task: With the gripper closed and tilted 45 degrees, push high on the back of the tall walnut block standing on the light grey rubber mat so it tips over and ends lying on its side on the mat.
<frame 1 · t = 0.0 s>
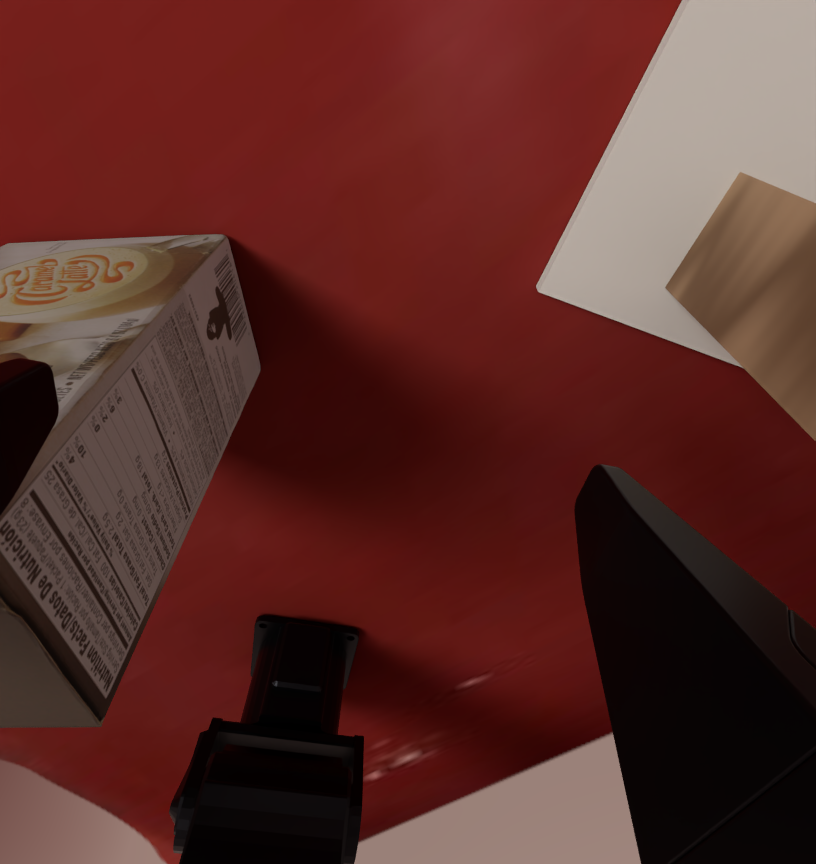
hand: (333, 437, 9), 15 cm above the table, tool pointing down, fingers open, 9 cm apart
walnut block: (750, 253, 21), point 1 cm above the table, touching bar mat
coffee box: (146, 308, 24), on the table
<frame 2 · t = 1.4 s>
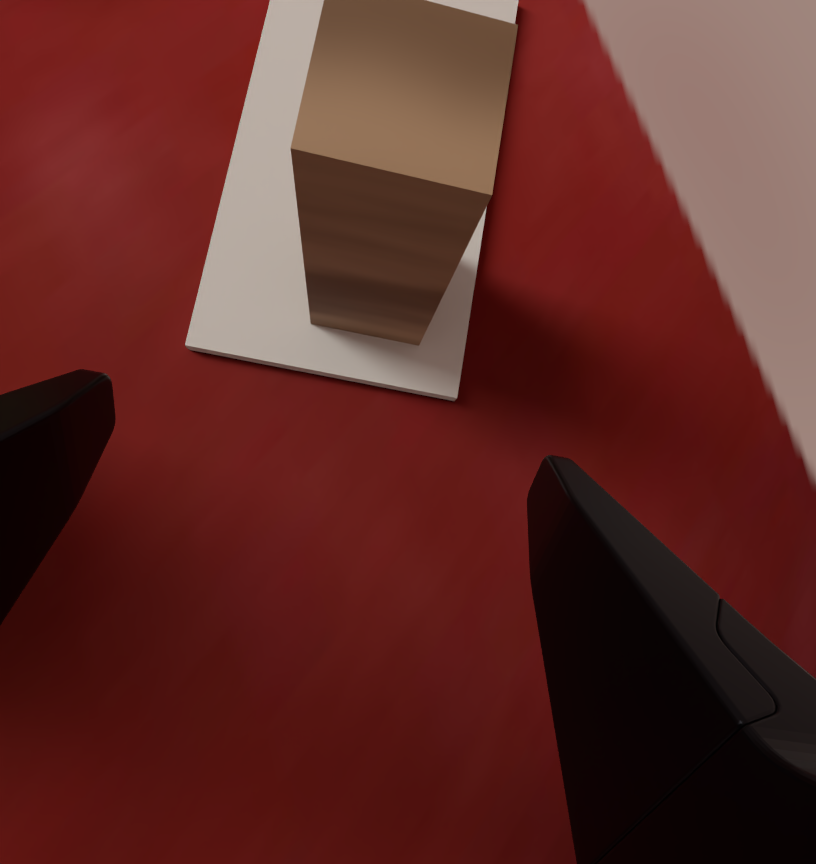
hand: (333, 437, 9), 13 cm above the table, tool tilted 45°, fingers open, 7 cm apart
walnut block: (374, 284, 24), point 1 cm above the table, touching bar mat
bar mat: (367, 160, 25), on the table
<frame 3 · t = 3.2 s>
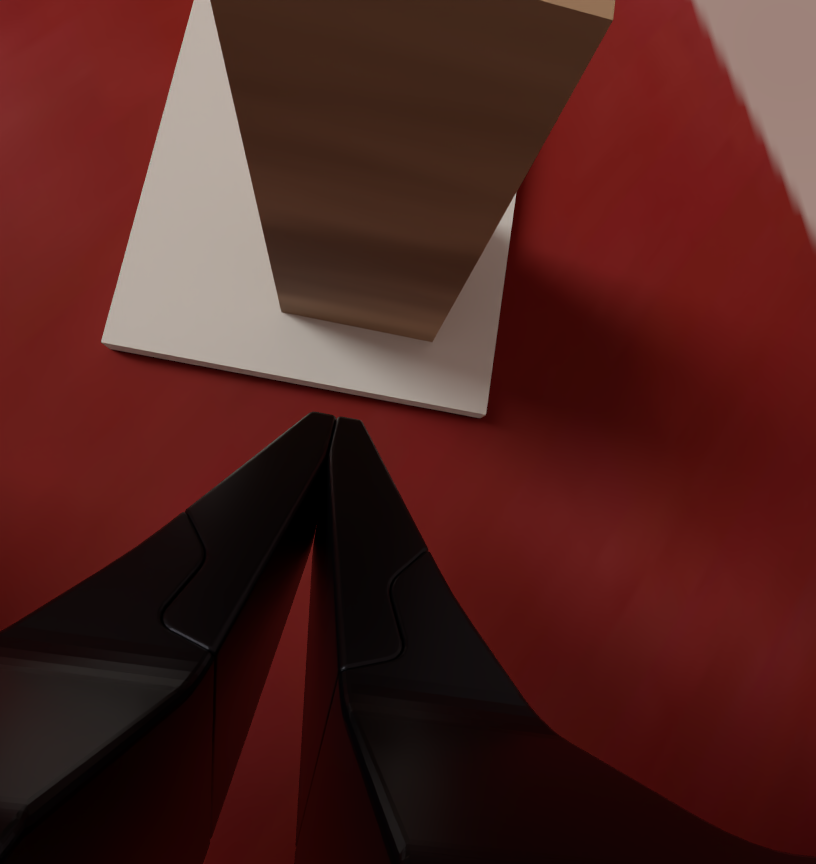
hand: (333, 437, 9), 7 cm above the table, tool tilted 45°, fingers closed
walnut block: (370, 257, 17), point 1 cm above the table, touching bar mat
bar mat: (359, 93, 19), on the table
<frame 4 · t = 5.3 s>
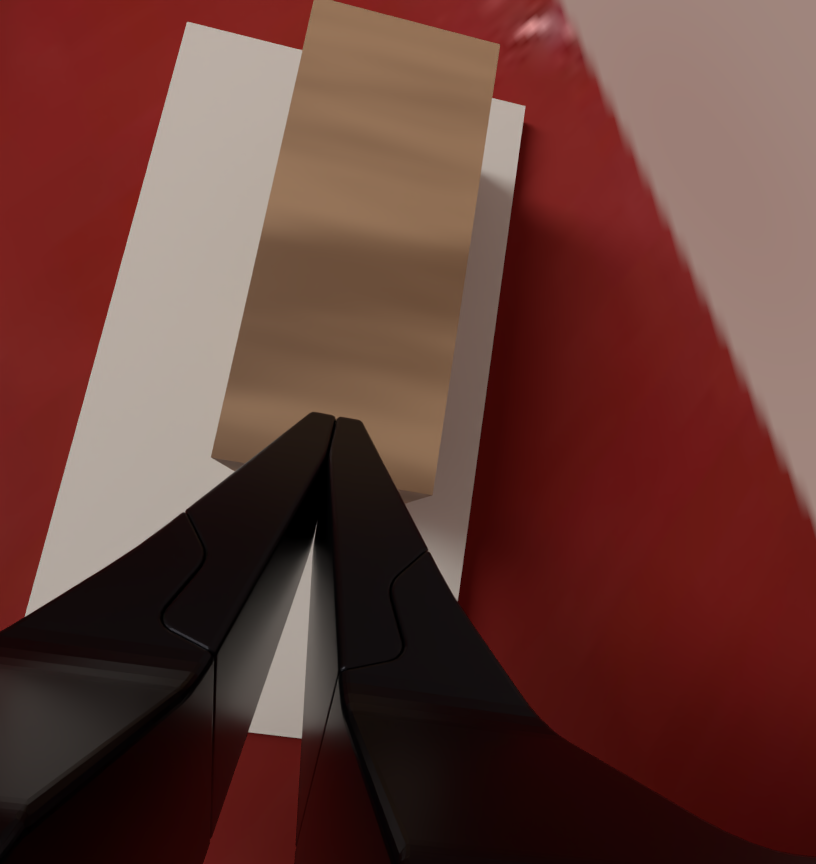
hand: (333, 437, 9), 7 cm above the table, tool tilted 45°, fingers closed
walnut block: (324, 484, 14), point 3 cm above the table, tilted 90°, touching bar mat
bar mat: (303, 365, 17), on the table
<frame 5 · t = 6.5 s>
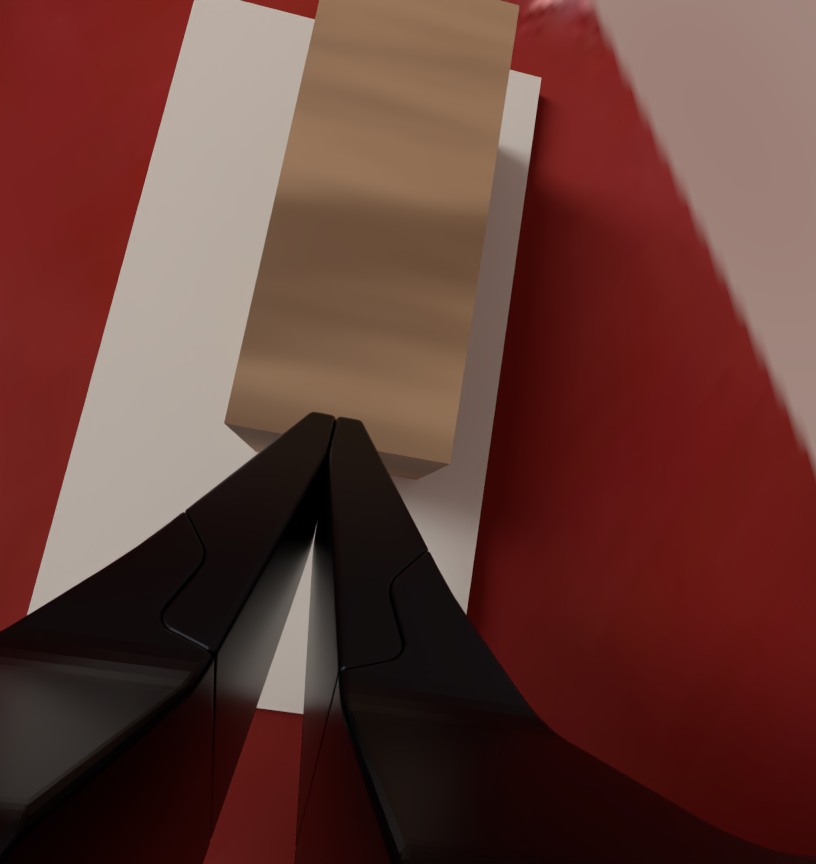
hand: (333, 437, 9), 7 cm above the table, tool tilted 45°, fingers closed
walnut block: (338, 456, 13), point 3 cm above the table, tilted 90°, touching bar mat
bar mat: (314, 340, 17), on the table
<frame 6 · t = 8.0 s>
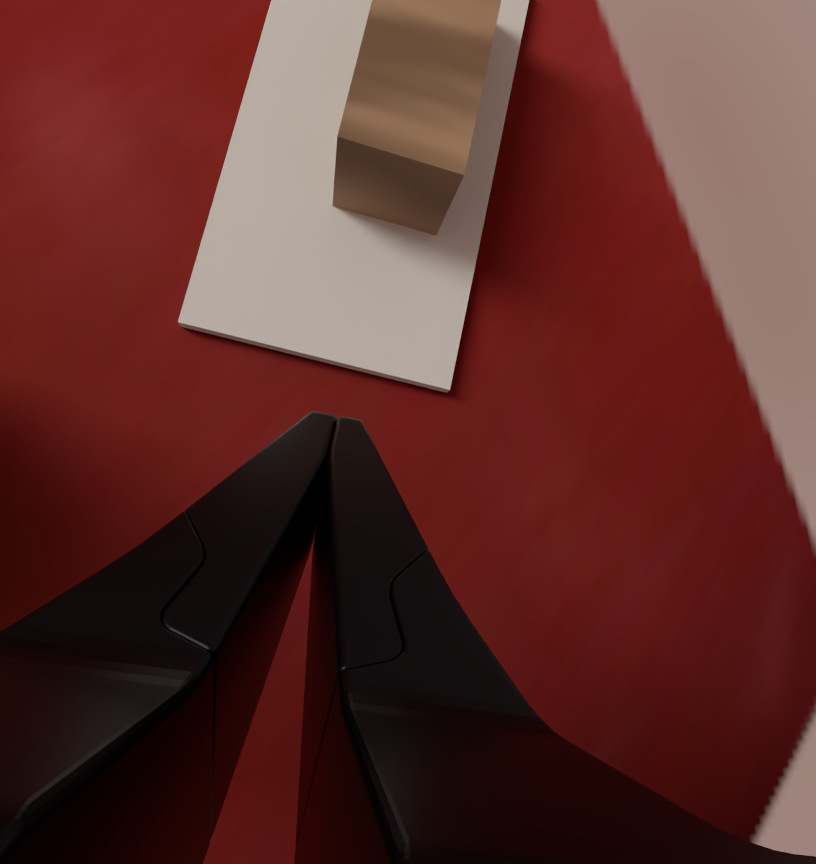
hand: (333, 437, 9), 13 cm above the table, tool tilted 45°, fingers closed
walnut block: (392, 191, 22), point 3 cm above the table, tilted 90°, touching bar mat
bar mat: (371, 145, 25), on the table
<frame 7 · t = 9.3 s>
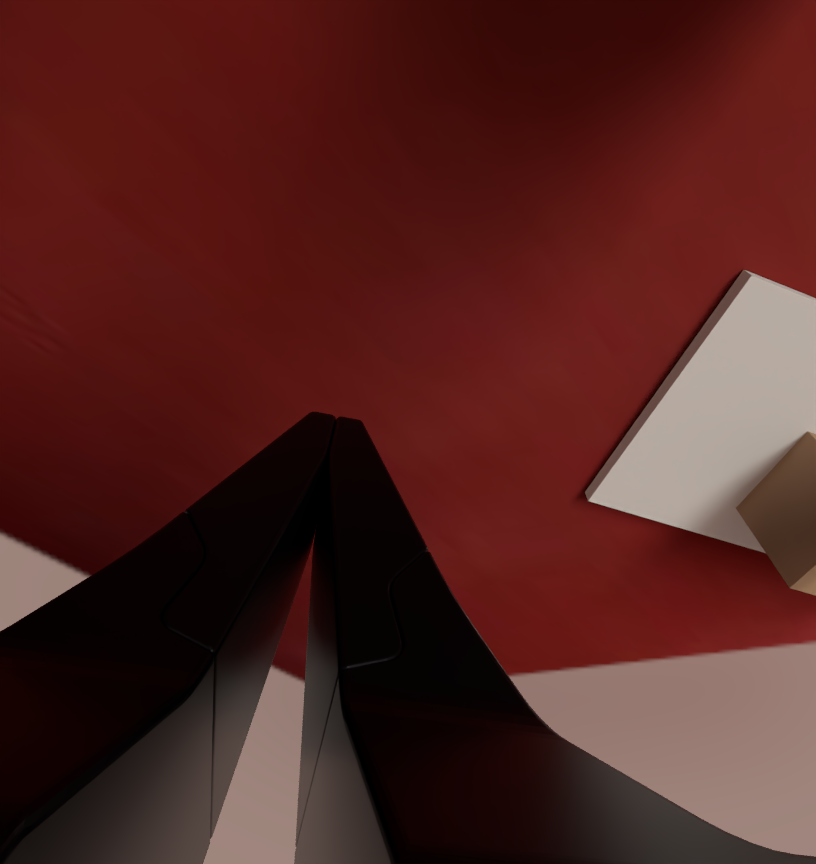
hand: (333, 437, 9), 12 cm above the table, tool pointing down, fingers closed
walnut block: (798, 507, 22), point 3 cm above the table, tilted 90°, touching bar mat
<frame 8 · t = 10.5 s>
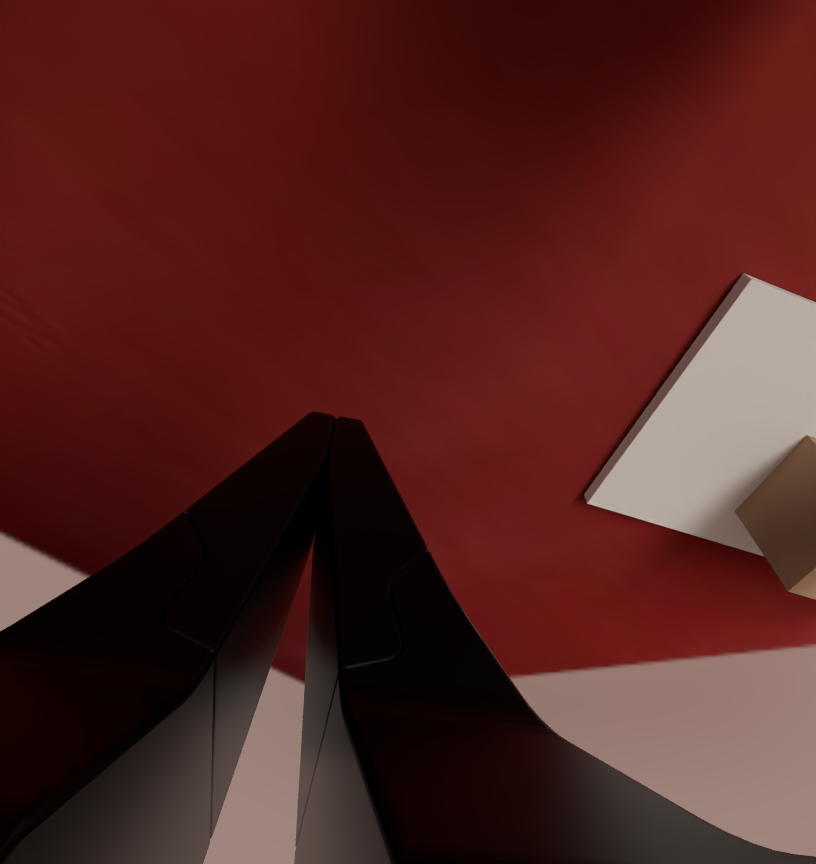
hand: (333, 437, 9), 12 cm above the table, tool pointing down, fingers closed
walnut block: (797, 511, 22), point 3 cm above the table, tilted 90°, touching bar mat
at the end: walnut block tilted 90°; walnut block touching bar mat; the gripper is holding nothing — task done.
